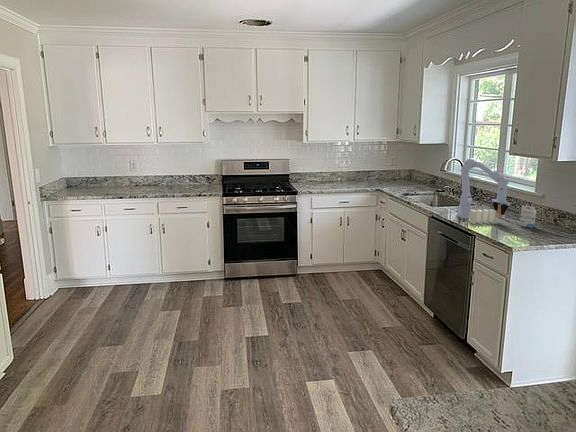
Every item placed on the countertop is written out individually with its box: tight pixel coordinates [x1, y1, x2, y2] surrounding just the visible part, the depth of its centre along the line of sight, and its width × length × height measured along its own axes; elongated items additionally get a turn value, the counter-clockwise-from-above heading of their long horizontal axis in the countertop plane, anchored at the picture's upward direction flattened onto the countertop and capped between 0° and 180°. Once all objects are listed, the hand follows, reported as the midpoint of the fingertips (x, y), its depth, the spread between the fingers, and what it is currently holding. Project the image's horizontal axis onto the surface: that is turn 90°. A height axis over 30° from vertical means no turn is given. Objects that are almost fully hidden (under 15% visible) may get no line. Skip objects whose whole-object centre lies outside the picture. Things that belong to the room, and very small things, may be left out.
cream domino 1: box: [469, 209, 477, 225], centre depth 296 cm, size 5×2×9 cm, turn 10°
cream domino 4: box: [489, 208, 497, 223], centre depth 299 cm, size 5×2×9 cm, turn 10°
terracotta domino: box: [496, 204, 503, 220], centre depth 299 cm, size 5×2×9 cm, turn 172°
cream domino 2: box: [476, 209, 484, 225], centre depth 297 cm, size 5×2×9 cm, turn 10°
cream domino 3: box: [482, 208, 490, 225], centre depth 298 cm, size 5×2×9 cm, turn 10°
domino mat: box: [464, 218, 510, 226], centre depth 301 cm, size 12×29×1 cm, turn 99°
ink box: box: [518, 205, 537, 229], centre depth 290 cm, size 8×5×15 cm, turn 47°
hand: (499, 213), depth 299 cm, fingers closed on terracotta domino, 5 cm apart
